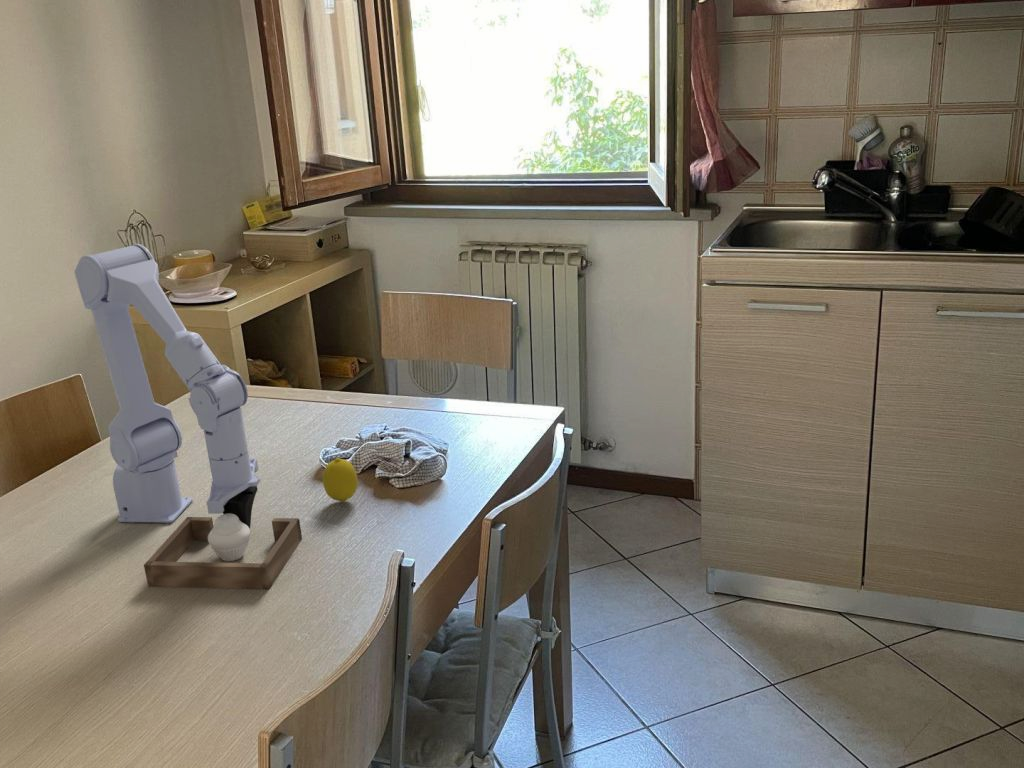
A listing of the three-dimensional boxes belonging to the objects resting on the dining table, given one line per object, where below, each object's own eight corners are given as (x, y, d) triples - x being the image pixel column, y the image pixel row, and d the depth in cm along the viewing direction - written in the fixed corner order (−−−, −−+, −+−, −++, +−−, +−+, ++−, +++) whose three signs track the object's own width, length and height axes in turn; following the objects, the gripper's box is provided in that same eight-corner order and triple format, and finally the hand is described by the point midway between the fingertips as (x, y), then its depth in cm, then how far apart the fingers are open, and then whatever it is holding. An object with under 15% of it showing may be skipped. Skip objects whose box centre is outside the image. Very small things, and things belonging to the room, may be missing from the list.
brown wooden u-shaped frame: (148, 586, 133) (143, 564, 132) (191, 536, 146) (187, 516, 145) (269, 589, 131) (265, 567, 129) (302, 538, 144) (299, 518, 142)
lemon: (353, 511, 151) (347, 466, 149) (321, 509, 152) (314, 465, 150) (364, 495, 156) (359, 451, 154) (333, 493, 158) (327, 450, 155)
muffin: (232, 570, 136) (225, 528, 133) (202, 561, 139) (194, 519, 136) (262, 550, 141) (255, 509, 138) (232, 541, 144) (225, 501, 141)
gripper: (234, 474, 131) (249, 558, 136) (271, 432, 145) (283, 510, 149) (187, 474, 132) (203, 557, 137) (228, 432, 146) (241, 510, 150)
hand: (242, 533), depth 143 cm, fingers closed
